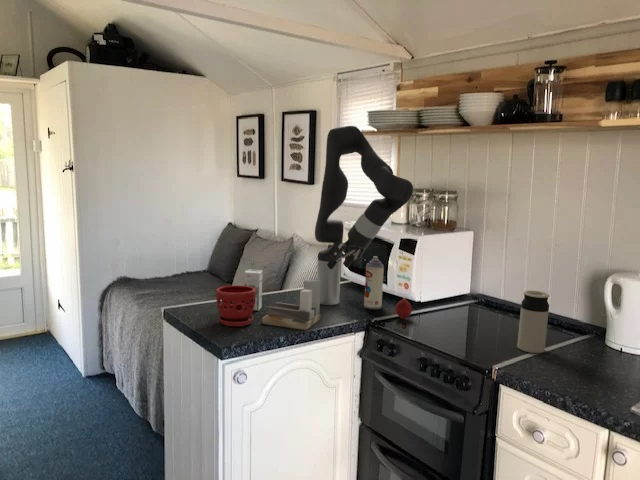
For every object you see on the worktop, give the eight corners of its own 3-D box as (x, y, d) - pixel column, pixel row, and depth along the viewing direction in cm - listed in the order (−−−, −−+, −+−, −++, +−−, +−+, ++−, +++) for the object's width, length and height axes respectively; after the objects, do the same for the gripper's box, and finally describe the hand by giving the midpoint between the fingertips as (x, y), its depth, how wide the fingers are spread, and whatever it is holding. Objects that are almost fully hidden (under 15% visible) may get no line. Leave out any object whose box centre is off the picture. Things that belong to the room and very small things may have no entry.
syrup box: (261, 307, 204) (262, 269, 202) (258, 311, 198) (259, 272, 196) (247, 306, 204) (247, 268, 202) (243, 310, 198) (244, 271, 196)
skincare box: (319, 310, 202) (320, 279, 200) (319, 314, 198) (320, 281, 196) (303, 310, 202) (304, 278, 200) (302, 313, 198) (303, 281, 196)
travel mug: (516, 351, 166) (522, 294, 164) (517, 343, 174) (522, 289, 171) (544, 355, 163) (550, 297, 161) (544, 347, 171) (549, 292, 168)
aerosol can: (361, 305, 213) (364, 255, 210) (377, 304, 215) (380, 254, 212) (368, 309, 206) (370, 258, 203) (384, 308, 208) (387, 258, 205)
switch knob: (300, 314, 188) (301, 288, 187) (314, 316, 187) (315, 290, 185) (296, 318, 184) (297, 291, 183) (309, 319, 183) (310, 292, 181)
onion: (407, 322, 192) (408, 300, 191) (392, 319, 195) (393, 297, 194) (413, 318, 197) (414, 297, 195) (398, 315, 200) (400, 294, 198)
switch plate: (278, 313, 197) (279, 299, 196) (320, 319, 191) (320, 305, 191) (262, 323, 183) (262, 309, 183) (305, 330, 178) (306, 315, 178)
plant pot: (261, 320, 186) (262, 287, 185) (241, 331, 175) (242, 295, 173) (230, 315, 192) (230, 282, 190) (208, 324, 180) (208, 289, 178)
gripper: (370, 221, 174) (343, 257, 181) (344, 221, 163) (316, 259, 170) (385, 237, 171) (357, 273, 178) (359, 238, 160) (330, 276, 167)
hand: (337, 266), depth 174 cm, fingers open, 8 cm apart
